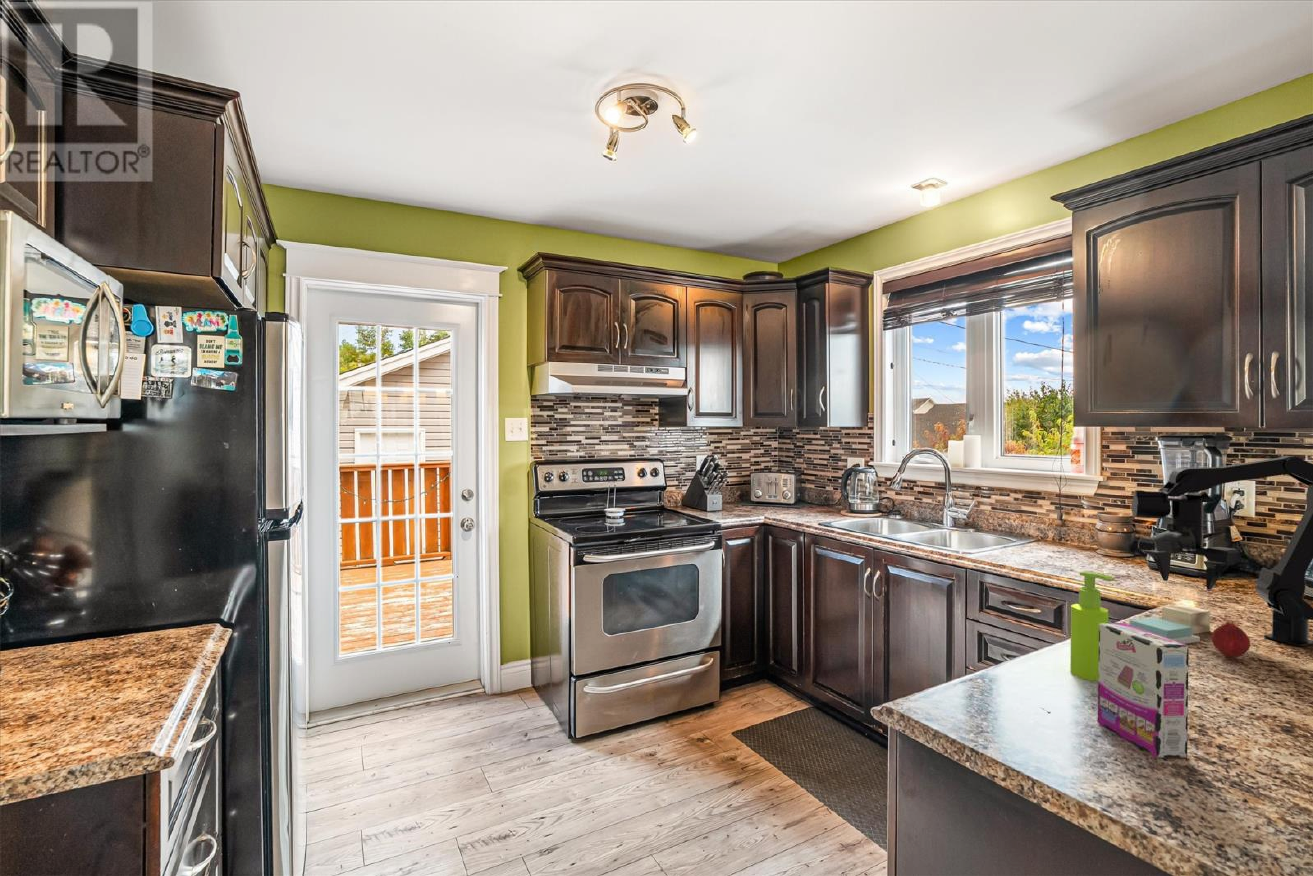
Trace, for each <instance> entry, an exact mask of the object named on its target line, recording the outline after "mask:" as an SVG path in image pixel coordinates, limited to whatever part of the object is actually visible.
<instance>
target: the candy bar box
mask: <svg viewBox="0 0 1313 876" xmlns="http://www.w3.org/2000/svg"><path fill="white" fill-rule="evenodd" d="M1189 648H1190V646H1189V645H1188V644H1182V643H1179V642H1177V641H1174V640H1171V639H1169V638H1166V637H1163V636H1160V635H1157V634H1154V633H1151V632H1149V631H1146V630H1143V629H1140V628H1137V627H1134V626H1132V625H1130V623H1129V624H1128V623H1125V622H1111V623H1110V622H1108V623H1102V624H1099V662H1098V681H1097V683H1098V685H1097V687H1098V689H1097V690H1098V691H1097V724H1098V725H1100V726H1101V727H1103V728H1105V729H1106V730H1108V731H1111V732H1112V733H1113V734H1115V735H1116V736H1119V737H1121V738H1122V739H1124V740H1126V741H1127V742H1129V743H1131V744H1132V745H1134V746H1136V747H1138V748H1139V749H1141V750H1143V751H1144V752H1146V753H1148V754H1150V755H1151V756H1153V757H1155V758H1157V759H1184V758H1188V739H1189V738H1188V727H1189V725H1188V720H1189V719H1188V716H1189V707H1188V706H1189V660H1190V659H1189V656H1190V655H1189V653H1190V652H1189V651H1190V650H1189Z"/></svg>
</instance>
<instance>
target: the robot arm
mask: <svg viewBox="0 0 1313 876" xmlns="http://www.w3.org/2000/svg"><path fill="white" fill-rule="evenodd" d="M1283 475H1288V476H1289V477H1291V478H1292V479H1294V480H1296V481H1297V482H1299V483H1301V484H1303V485H1305V486H1307V489H1306V497H1305V498H1306V500H1305V501H1306V508H1305V511H1304V512H1303V515H1302V517H1301V518H1300V520H1299V522H1298V524H1297V526H1296V529H1295V530H1294V531H1293V532H1294V533H1293V534H1292V536H1291V539H1290V540H1289V542H1288V544H1287V546H1286V547H1285V550H1284V551H1283V554H1282V555H1281V558H1280V560H1279V561H1278V563H1277V564H1276V565H1275V566H1273V567H1272V568H1271V569H1268V568H1266V567H1262V568H1261V570H1260V573H1259V576H1258V578H1257V579H1256V580H1254V581H1253V582H1254V584H1256V587H1255V592H1256V594H1257V596H1258V597H1259V598H1260V599H1261V600H1263V601H1264V602H1266V605H1267V607H1268V608H1269V609H1271V610H1272V615H1271V616H1272V619H1271V621H1272V622H1271V625H1272V626H1271V633H1270V634H1264V635H1263V637H1264V638H1266V639H1270V640H1273V641H1277V642H1281V643H1285V644H1290V645H1293V646H1296V647H1306V646H1310V645H1313V640H1312V639H1309V621H1313V606H1311V605H1310V604H1309V603H1308V602H1307V601H1305V600H1304V596H1305V593H1306V587H1307V586H1306V585H1307V584H1306V574H1307V571H1308V569H1309V568H1310V566H1311V563H1312V561H1313V463H1311V462H1309V461H1307V460H1304V458H1301V457H1299V456H1294V455H1282V456H1280V457H1276V458H1270V459H1263V460H1256V461H1249V462H1243V463H1242V462H1241V463H1237V464H1231V465H1230V464H1229V465H1223V466H1214V467H1213V466H1211V467H1206V466H1205V467H1204V466H1199V467H1198V466H1195V467H1194V466H1193V467H1192V466H1191V467H1179V468H1175V469H1173V470H1172V472H1171V473H1170V474H1169V476H1168V481H1167V482H1166V483H1165V484H1164V485H1163V486H1162V487H1161V488H1160V489H1159V490H1158V491H1154V490H1153V491H1152V490H1151V491H1150V490H1142V489H1135V490H1134V495H1133V498H1132V502H1131V512H1132V517H1133V518H1135V519H1136V518H1137V519H1141V518H1142V519H1155V520H1157V519H1159V520H1164V519H1165V517H1168V516H1169V515H1171V521H1170V522H1171V523H1167V526H1166V531H1163V532H1161V533H1159V534H1157V535H1155V536H1148V537H1141V538H1140V539H1139V540H1138V542H1137V549H1139V550H1143V553H1145V554H1148V556H1149V557H1151V558H1152V559H1153V561H1154V562H1155V564H1156V566H1157V570H1158V572H1159V574H1160V576H1161V578H1162V580H1163V581H1164V582H1167V581H1168V580H1169V577H1170V570H1171V561H1172V555H1177V554H1180V553H1185V554H1191V555H1197V556H1202V557H1203V556H1204V557H1205V559H1206V560H1204V561H1203V563H1204V566H1205V568H1206V576H1205V577H1206V578H1205V581H1206V582H1205V584H1206V590H1207V591H1212V590H1213V588H1214V587H1215V585H1216V583H1217V582H1218V580H1219V579H1220V576H1222V574H1223V573H1224V571H1226V569H1227V568H1228V567H1229V566H1231V565H1235V563H1240V562H1241V563H1242V554H1241V553H1242V552H1240V551H1239V550H1238V549H1237V548H1232V547H1231V548H1230V547H1225V546H1213V547H1207V545H1208V544H1207V542H1206V541H1204V530H1208V528H1207V527H1208V525H1206V524H1204V503H1210V504H1211V503H1215V502H1216V500H1215V499H1214V498H1212V497H1211V496H1210V495H1209V494H1208V493H1207V492H1205V491H1207V490H1209V489H1213V488H1215V487H1218V486H1221V485H1225V484H1227V483H1228V484H1229V483H1233V482H1234V483H1235V482H1240V481H1249V480H1257V479H1263V478H1270V477H1275V476H1276V477H1277V476H1283ZM1187 493H1188V494H1187ZM1191 493H1192V494H1191ZM1194 493H1195V494H1194ZM1196 493H1198V494H1196Z"/></svg>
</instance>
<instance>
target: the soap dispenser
mask: <svg viewBox="0 0 1313 876" xmlns="http://www.w3.org/2000/svg"><path fill="white" fill-rule="evenodd" d="M1079 576H1082V577H1084V581H1083V582H1084V584H1083V585H1084V586H1082V587H1080V588H1079V589H1078V603H1074V604H1071V606H1070V607H1071V608H1070V674H1071V673H1072V674H1071V675H1073V676H1074V677H1076V678H1078V679H1082V678H1083V679H1082V680H1085V681H1092V682H1098V662H1099V624H1102V623H1109V610H1108V609H1107V608H1104V606H1103V607H1102V606H1101V590H1099V589H1098V588H1096V579H1099V580H1100V579H1101V580H1104V581H1106V582H1111V581H1115V580H1116V578H1115V577H1112V576H1110V575H1108V574H1104V573H1102V572H1094V571H1085V570H1084V571H1080V572H1079Z"/></svg>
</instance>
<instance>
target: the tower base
mask: <svg viewBox="0 0 1313 876" xmlns="http://www.w3.org/2000/svg"><path fill="white" fill-rule="evenodd" d="M1129 625H1132V626H1134V627H1137V628H1140V629H1143V630H1146V631H1149V632H1151V633H1154V634H1157V635H1160V636H1163V637H1166V638H1169V639H1171V640H1174V641H1177V642H1179V643H1182V644H1185V645H1187V644H1192V643H1199V642H1201V641H1200V640H1201V637H1200V636H1198V635H1195V634H1192V627H1189V626H1185V625H1182V624H1178V623H1174V622H1170V621H1167V620H1163V619H1162V618H1158V617H1155V616H1151V617H1143V618H1135V619H1134V618H1133V619H1130V620H1129Z"/></svg>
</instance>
